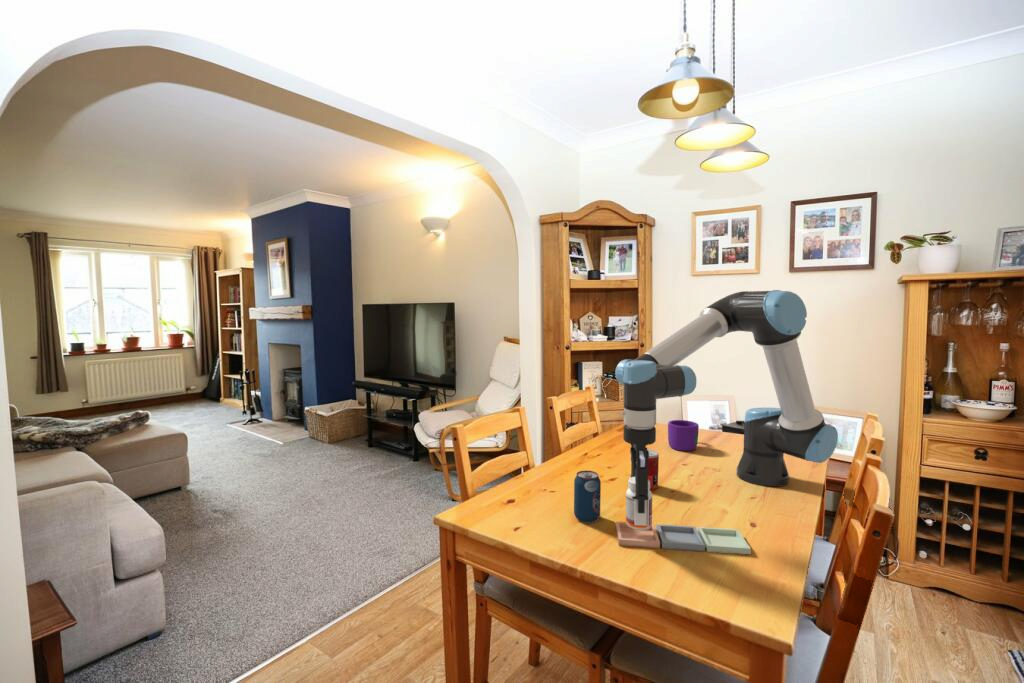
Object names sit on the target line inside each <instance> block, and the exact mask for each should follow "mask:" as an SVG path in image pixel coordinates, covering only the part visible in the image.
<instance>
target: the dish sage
mask: <svg viewBox="0 0 1024 683" xmlns="http://www.w3.org/2000/svg"><path fill="white" fill-rule="evenodd" d="M697 531H698V533H699V535H700V537H701V539H702V541H703V543H704V545H705V550H706V552H708V553H717V552H719V553H720V552H721V553H722V554H731V553H739V554H738V555H745V554H752V551H751V550H752V549H751V547H750V545H749V544H748V542H747V541H746V539H745V538H744V537H743V535H742V534H741V532H740V531H739V529H738V528H737V529H736V528H723V527H722V528H721V527H705V526H697ZM719 553H718V554H719Z"/></svg>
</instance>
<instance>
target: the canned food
mask: <svg viewBox="0 0 1024 683" xmlns="http://www.w3.org/2000/svg"><path fill="white" fill-rule="evenodd" d="M647 451H649V458H648V460H649V462H648V480H649V481H650V489H649V490H650V491H651V492H652V491H655V490H657V489H658V486H659V464H660V463H659V461H660V460H659V459H660V457H659V452H658V451H657V450H654V449H649V448H647Z"/></svg>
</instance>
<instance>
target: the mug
mask: <svg viewBox="0 0 1024 683" xmlns="http://www.w3.org/2000/svg"><path fill="white" fill-rule="evenodd" d="M667 439H668V445H669V447H670V448H671V449H673V450H676V451H680V452H692V451H695V450H696V449H697V446H698V440H699V424H698V423H697V422H694V421H690V420H687V419H686V420H684V419H674V420H669V421H668V423H667Z"/></svg>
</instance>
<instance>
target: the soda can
mask: <svg viewBox="0 0 1024 683" xmlns="http://www.w3.org/2000/svg"><path fill="white" fill-rule="evenodd" d="M599 475H600V474H599V473H598V472H595V471H593V470H580V471H578V472H576V476H575V477H574V480H573V481H574V482H573V486H574V487H573V488H574V489H573V493H574V494H573V514H574V517H575V518H576V519H577V520H578V521H580V522H582V523H587V524H590V523H595V522H597V521H598V520H599V518H600V517H601V484H602V483H601V479H600V477H599Z"/></svg>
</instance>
